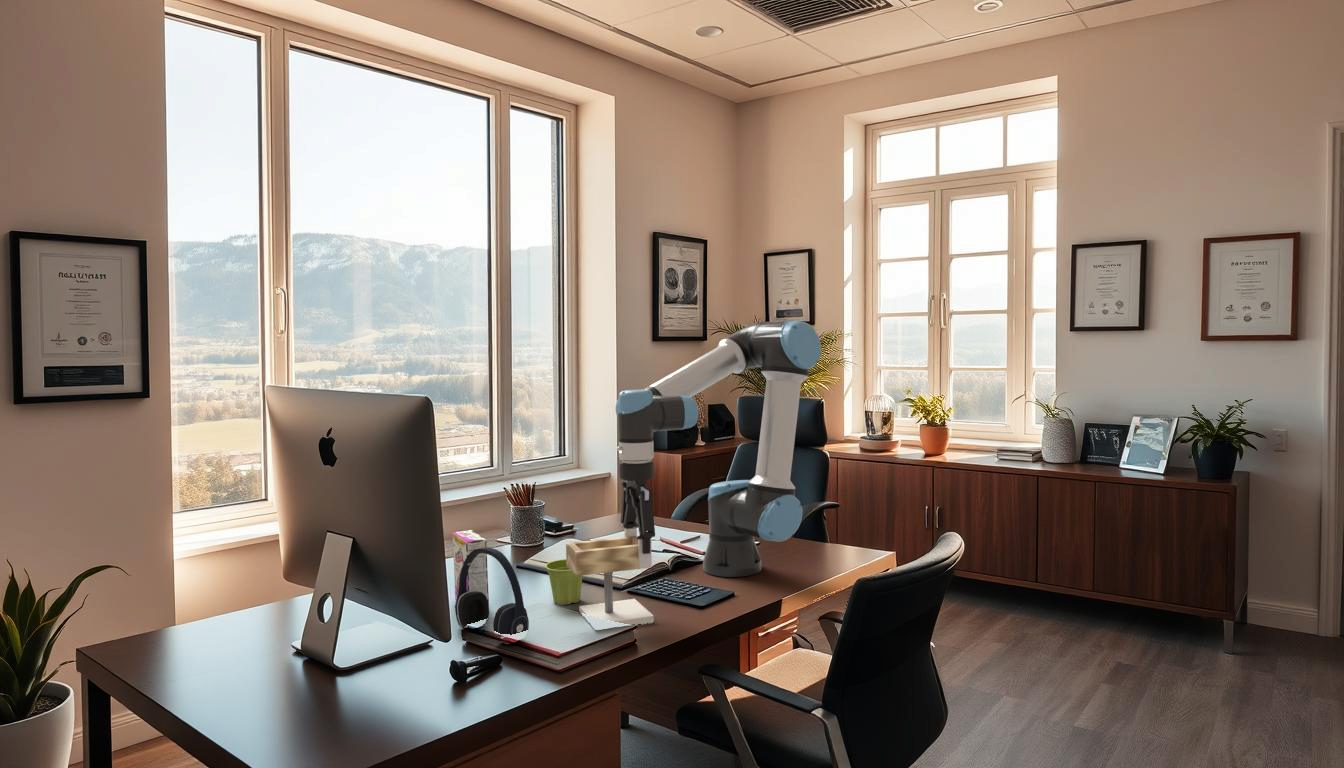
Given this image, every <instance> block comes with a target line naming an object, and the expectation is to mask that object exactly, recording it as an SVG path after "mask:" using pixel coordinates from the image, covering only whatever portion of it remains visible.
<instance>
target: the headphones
mask: <svg viewBox="0 0 1344 768" xmlns="http://www.w3.org/2000/svg"><path fill="white" fill-rule="evenodd" d="M480 553H484V554H487V556H491V557H492V558H493V559H494V558H495V559H496V560H497V562H498V563H499V564H500V565H501V567H502V568H503V570H504V571H505V573H506V574H505V575H506V576H507V578H508V579H509V583H510V585H511V589H512V591H513V597H514V602H509V603H505V604H504V605H502V606H500V607H499V608H498V609H497V610H496V612H495V613H494V617H493V624H492V625H493V626H492V627H493V630H494V631H496V632H498V633H500V634H510V635H512V634H516V633H520V632H523V631H526V630H528V631H529V628H530V622H529V621H530V620H529V616H528V613H527V609H526V608H525V605H524V598H523V593H522V589H521V586H520V583H519V579H518V577H517V574H516V572H515V569H514V568H513V566H512V564H511V562H510V561H509V560H508V558H507V557H506V555H504V554H503V552H502V551H500V550H498V549H496V548H493V547H490V546H489V547H487V546H486V547H485V548H479V549H475V550H473V551H472V552H471V553H470V554H469V555H468V556H467V558H466V559H465V561H464V564H463V566H462V569H461V573H460V580H459V591H458V596H457V600H455V604H454V608H455V609H454V610H455V611H454V612H455V618H456V622H457V624H458V626H459V627H460V628H461V629H462V628H463V627H464V626H466V625H467V624H471V623H475V622H478V621H480V620H484V619H487V618H488V619H489V617H490V604H489V605H488V600H487V598H486V595H484V594H483V593H482V592H479V591H467V575H468V570H469V567H470V564H471V563H472V561H473V560H474V558H475V557H476V556H477V555H478V554H480ZM493 630H492V631H493ZM494 631H493V632H494Z"/></svg>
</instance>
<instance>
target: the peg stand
mask: <svg viewBox="0 0 1344 768" xmlns="http://www.w3.org/2000/svg"><path fill="white" fill-rule="evenodd" d="M613 574H614V572H608V573H603V582H604V583H603V586H604V587H603V588H604V592H603V593H604V602H599V603H593V604H586V605H579V606H578V609H579V611H580V612H581V613H584V614H586V615H591V616H595V617H599V618H602V619H605V620H610V621H614V622H619V623H624V624H635V625H634V626H639V625H638V624H641V625H647V623H648V624H653V622H655V619H654V615H653V614H652V612H650V611H649V610H648V609H647V608H646V607H645V606H644V605H642V604H641V603H640V602H639V601H638V600H636V598H631V599H622V600H615V601H614V591H613V589H614V588H613V583H614V582H613ZM579 611H578V612H579Z"/></svg>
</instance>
